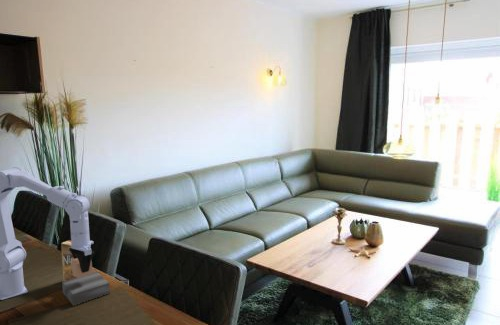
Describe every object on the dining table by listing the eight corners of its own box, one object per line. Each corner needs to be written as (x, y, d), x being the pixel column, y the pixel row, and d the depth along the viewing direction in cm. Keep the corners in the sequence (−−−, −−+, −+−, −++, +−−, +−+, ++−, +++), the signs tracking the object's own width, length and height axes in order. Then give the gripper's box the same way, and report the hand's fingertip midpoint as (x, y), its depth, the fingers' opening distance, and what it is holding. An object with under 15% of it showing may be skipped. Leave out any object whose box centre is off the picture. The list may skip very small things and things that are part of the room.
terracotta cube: (72, 273, 125) (71, 259, 125) (87, 269, 129) (86, 255, 128) (77, 277, 122) (76, 263, 121) (92, 273, 125) (91, 259, 124)
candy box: (62, 282, 134) (60, 243, 132) (72, 278, 138) (69, 239, 136) (79, 287, 131) (77, 247, 129) (89, 282, 135) (86, 243, 132)
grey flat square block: (62, 292, 127) (61, 282, 126) (97, 282, 135) (96, 271, 134) (73, 306, 118) (72, 294, 118) (110, 293, 126) (109, 282, 126)
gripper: (99, 233, 121) (102, 272, 122) (84, 224, 131) (87, 259, 133) (77, 238, 116) (80, 278, 118) (64, 228, 126) (66, 265, 128)
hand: (82, 269), depth 125 cm, fingers closed on terracotta cube, 5 cm apart
